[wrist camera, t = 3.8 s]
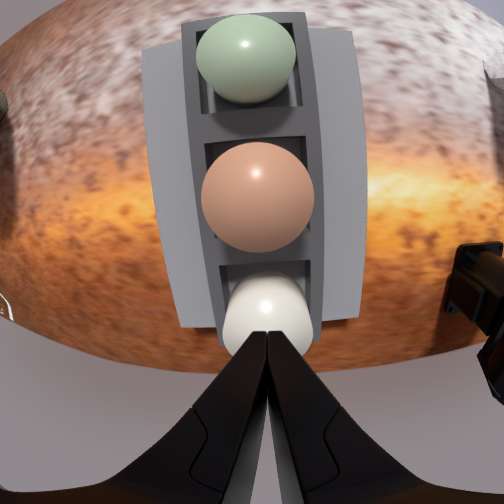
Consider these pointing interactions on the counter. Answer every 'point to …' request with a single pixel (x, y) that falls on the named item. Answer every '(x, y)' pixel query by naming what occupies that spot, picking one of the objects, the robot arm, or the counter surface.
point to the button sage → (246, 59)
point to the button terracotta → (257, 197)
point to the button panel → (267, 131)
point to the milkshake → (495, 68)
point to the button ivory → (267, 310)
